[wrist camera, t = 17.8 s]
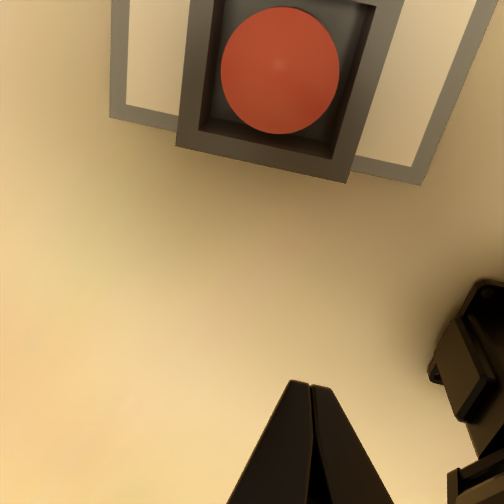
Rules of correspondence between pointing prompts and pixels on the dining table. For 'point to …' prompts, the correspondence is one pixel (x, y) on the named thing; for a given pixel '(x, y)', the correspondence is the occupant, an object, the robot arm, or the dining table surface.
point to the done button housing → (319, 132)
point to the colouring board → (385, 98)
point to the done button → (280, 70)
